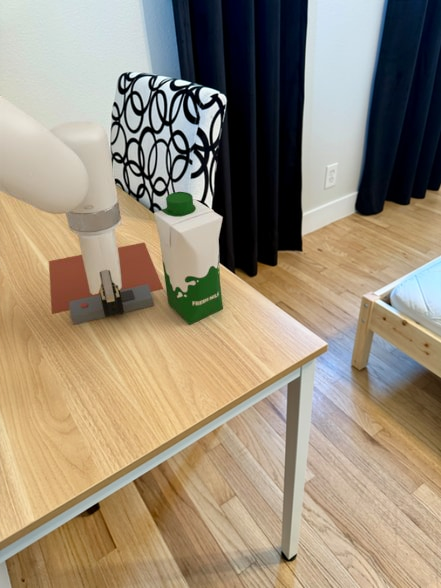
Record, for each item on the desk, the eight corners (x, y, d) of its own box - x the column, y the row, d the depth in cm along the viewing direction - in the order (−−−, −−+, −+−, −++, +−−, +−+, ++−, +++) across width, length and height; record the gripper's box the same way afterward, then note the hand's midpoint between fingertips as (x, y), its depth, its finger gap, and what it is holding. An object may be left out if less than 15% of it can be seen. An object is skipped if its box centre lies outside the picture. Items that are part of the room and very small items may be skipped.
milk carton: (202, 285, 80) (195, 184, 68) (230, 310, 74) (229, 204, 62) (161, 303, 76) (146, 199, 64) (188, 331, 70) (177, 222, 58)
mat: (52, 314, 75) (51, 313, 75) (49, 261, 89) (49, 261, 89) (163, 289, 80) (163, 288, 80) (144, 242, 94) (144, 242, 93)
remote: (73, 324, 73) (70, 316, 71) (71, 309, 76) (68, 300, 75) (154, 305, 76) (152, 297, 75) (149, 291, 79) (147, 283, 78)
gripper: (66, 197, 67) (89, 291, 78) (67, 242, 55) (94, 346, 66) (115, 191, 69) (131, 284, 80) (125, 234, 57) (142, 336, 68)
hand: (114, 312), depth 73 cm, fingers closed
